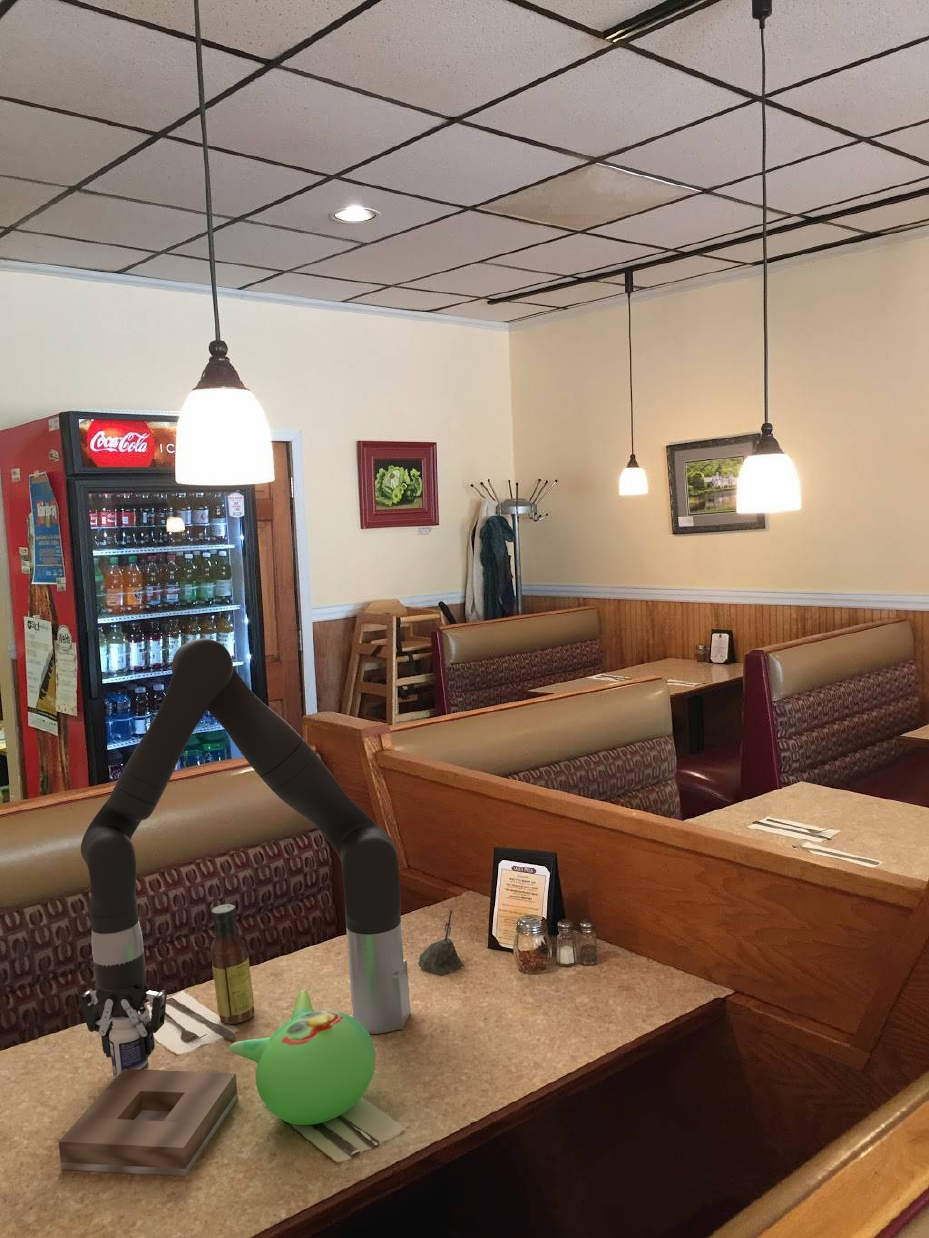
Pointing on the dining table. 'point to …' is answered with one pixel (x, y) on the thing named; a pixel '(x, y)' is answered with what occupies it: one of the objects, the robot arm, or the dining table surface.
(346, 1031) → the toy bird
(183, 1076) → the socket block
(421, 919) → the dining table surface
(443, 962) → the sword in stone
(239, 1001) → the sauce bottle
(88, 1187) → the dining table surface
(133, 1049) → the pill bottle
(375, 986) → the robot arm
